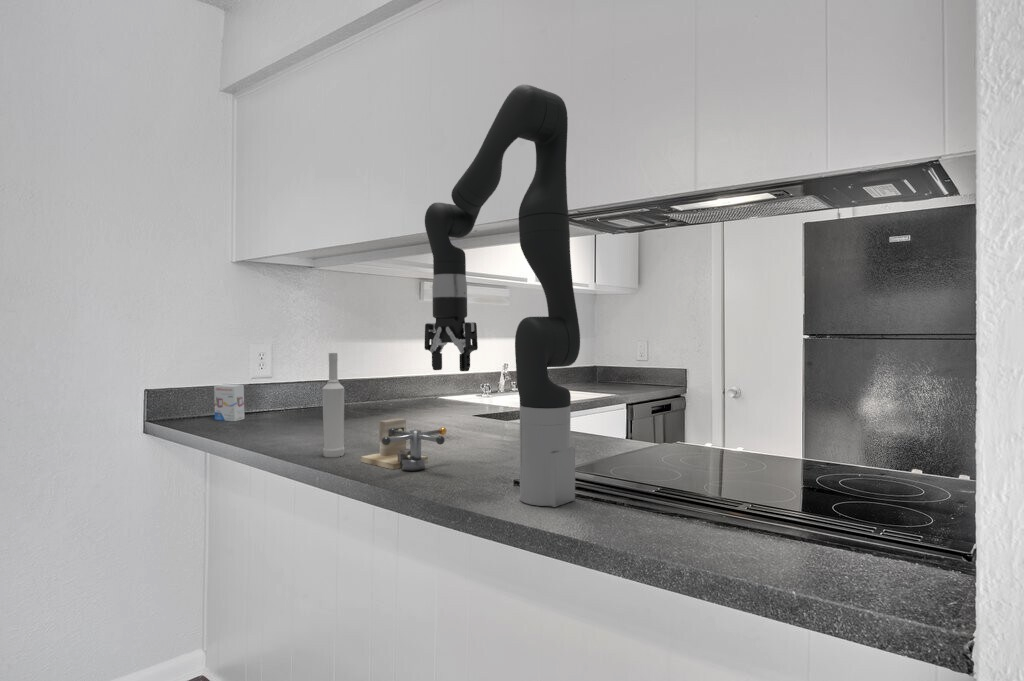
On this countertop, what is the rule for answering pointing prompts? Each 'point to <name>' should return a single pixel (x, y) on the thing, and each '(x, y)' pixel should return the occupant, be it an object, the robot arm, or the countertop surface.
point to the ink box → (229, 402)
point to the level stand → (390, 446)
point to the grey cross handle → (414, 445)
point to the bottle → (333, 412)
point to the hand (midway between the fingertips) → (450, 370)
